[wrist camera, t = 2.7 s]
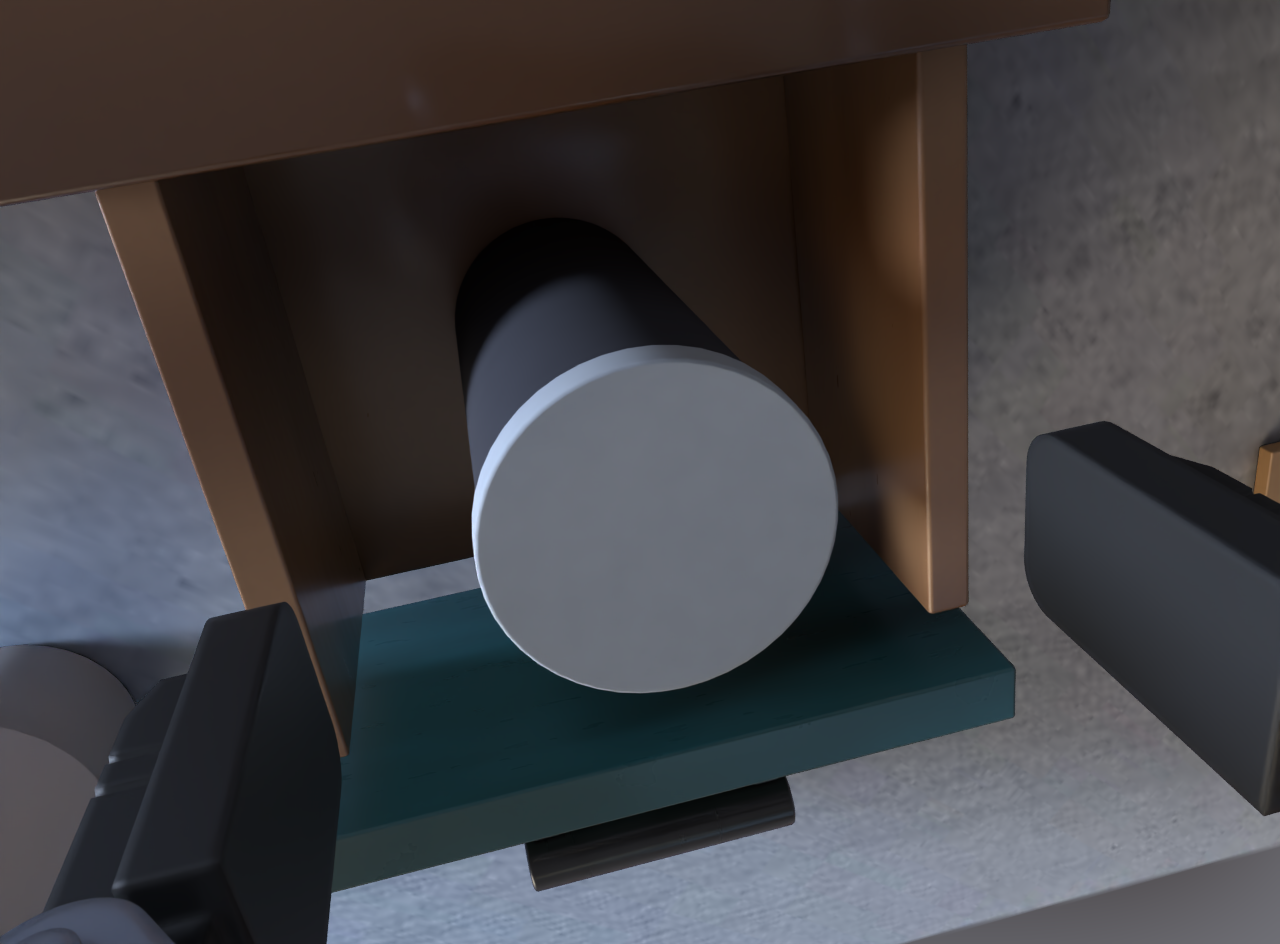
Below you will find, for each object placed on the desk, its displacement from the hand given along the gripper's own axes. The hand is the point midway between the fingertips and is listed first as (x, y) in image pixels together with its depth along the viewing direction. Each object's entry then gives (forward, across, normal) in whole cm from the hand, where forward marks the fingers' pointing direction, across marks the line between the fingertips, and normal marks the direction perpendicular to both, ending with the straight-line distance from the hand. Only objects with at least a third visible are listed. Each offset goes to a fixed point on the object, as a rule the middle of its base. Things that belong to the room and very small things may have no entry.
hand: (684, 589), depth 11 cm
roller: (+11, 0, 0) cm, 11 cm away
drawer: (+12, 0, +2) cm, 12 cm away
